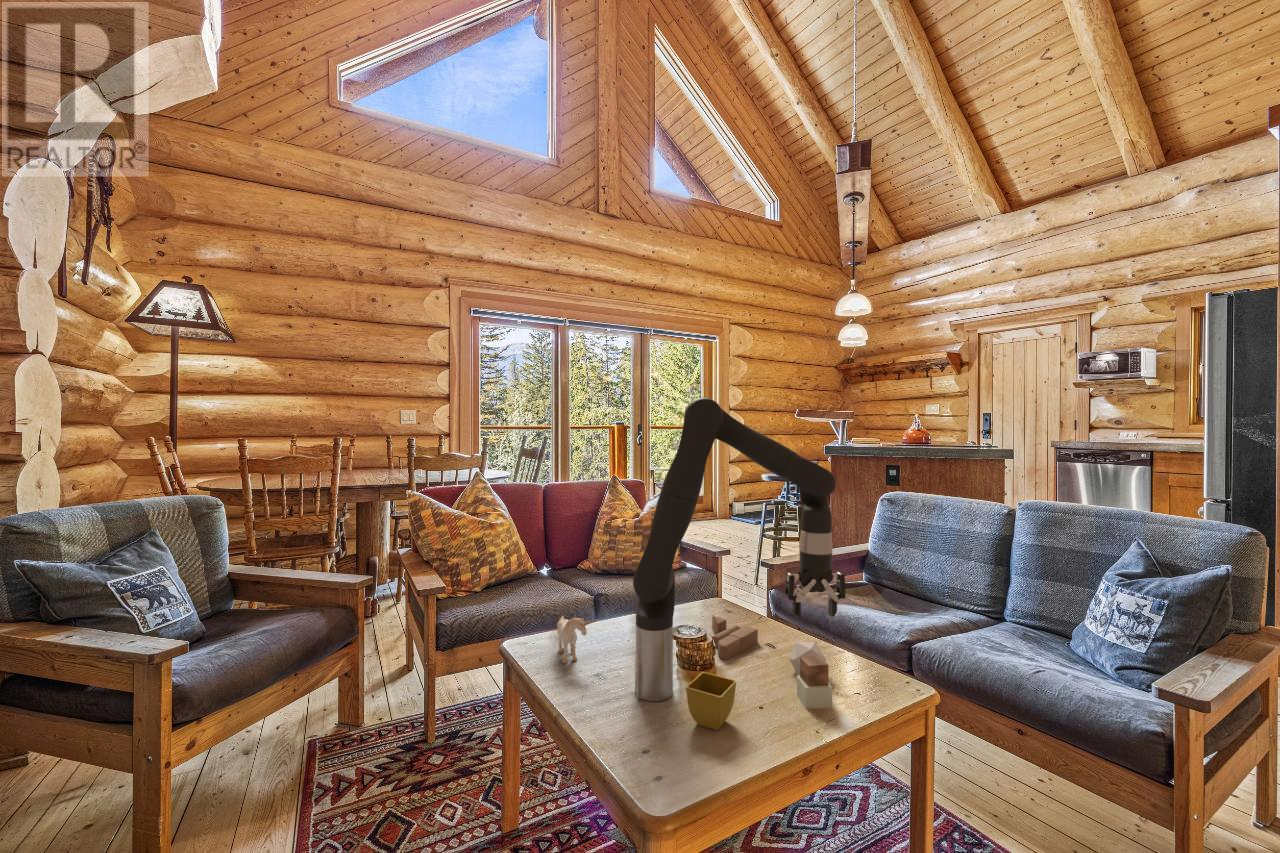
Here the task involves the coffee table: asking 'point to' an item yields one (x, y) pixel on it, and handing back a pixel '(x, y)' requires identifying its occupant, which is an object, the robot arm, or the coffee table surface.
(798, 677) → the sage block
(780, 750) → the coffee table surface
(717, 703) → the flower pot
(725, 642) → the wooden block set
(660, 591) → the robot arm
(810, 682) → the walnut block
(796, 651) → the die
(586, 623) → the unicorn figurine
